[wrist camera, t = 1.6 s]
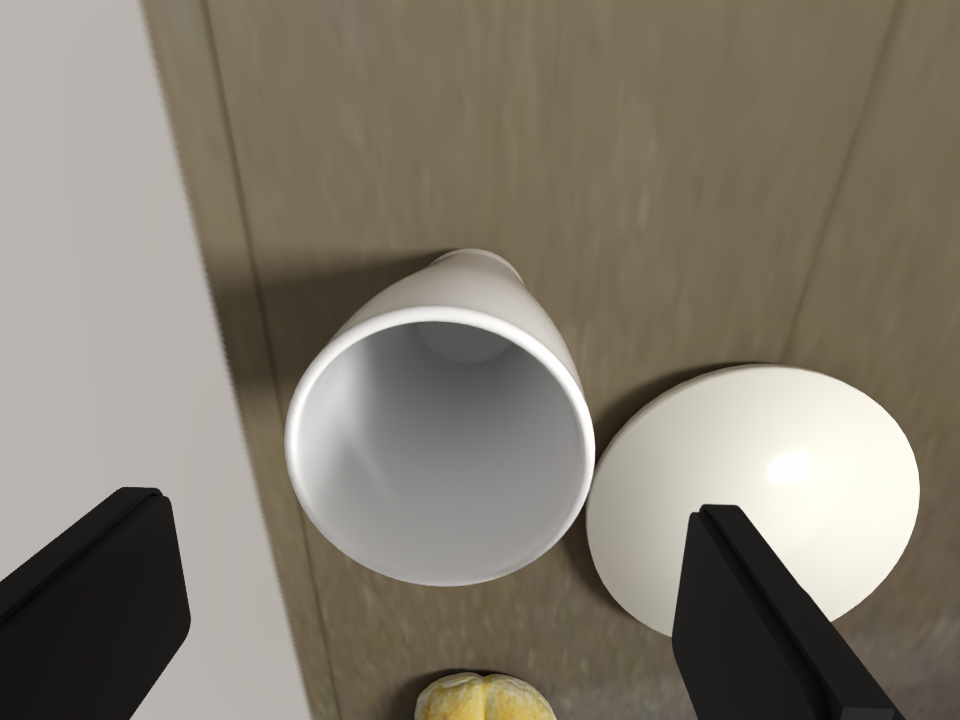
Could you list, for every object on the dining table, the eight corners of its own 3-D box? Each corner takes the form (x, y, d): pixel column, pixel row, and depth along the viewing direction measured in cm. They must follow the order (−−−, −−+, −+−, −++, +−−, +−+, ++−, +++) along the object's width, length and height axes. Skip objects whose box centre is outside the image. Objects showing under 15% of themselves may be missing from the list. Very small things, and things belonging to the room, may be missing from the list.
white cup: (461, 398, 27) (421, 640, 13) (369, 292, 26) (210, 436, 11) (572, 315, 26) (665, 487, 12) (481, 198, 24) (459, 229, 10)
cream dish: (596, 355, 26) (601, 365, 25) (936, 363, 26) (961, 374, 24) (573, 621, 31) (576, 642, 30) (857, 630, 31) (874, 652, 30)
